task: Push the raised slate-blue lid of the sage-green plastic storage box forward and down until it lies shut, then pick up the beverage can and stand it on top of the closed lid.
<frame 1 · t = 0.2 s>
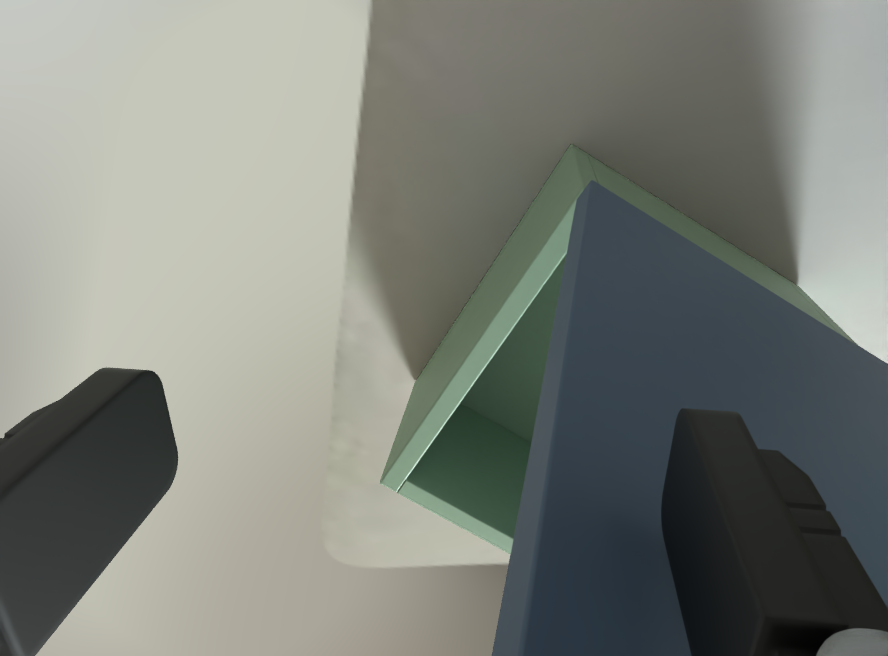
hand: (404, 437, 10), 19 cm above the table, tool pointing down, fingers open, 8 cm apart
storage box: (591, 338, 29), on the table
box lid: (789, 472, 13), point 15 cm above the table, hinge at 77.1°
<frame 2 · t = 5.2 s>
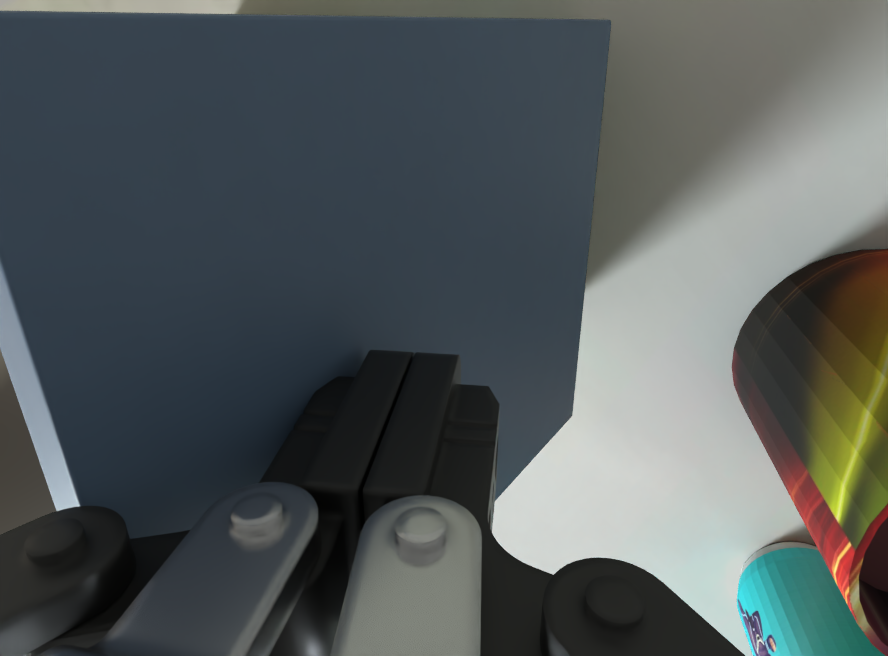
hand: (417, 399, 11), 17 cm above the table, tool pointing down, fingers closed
box lid: (431, 333, 13), point 15 cm above the table, hinge at 63.5°, touching gripper
beverage can: (785, 570, 33), on the table
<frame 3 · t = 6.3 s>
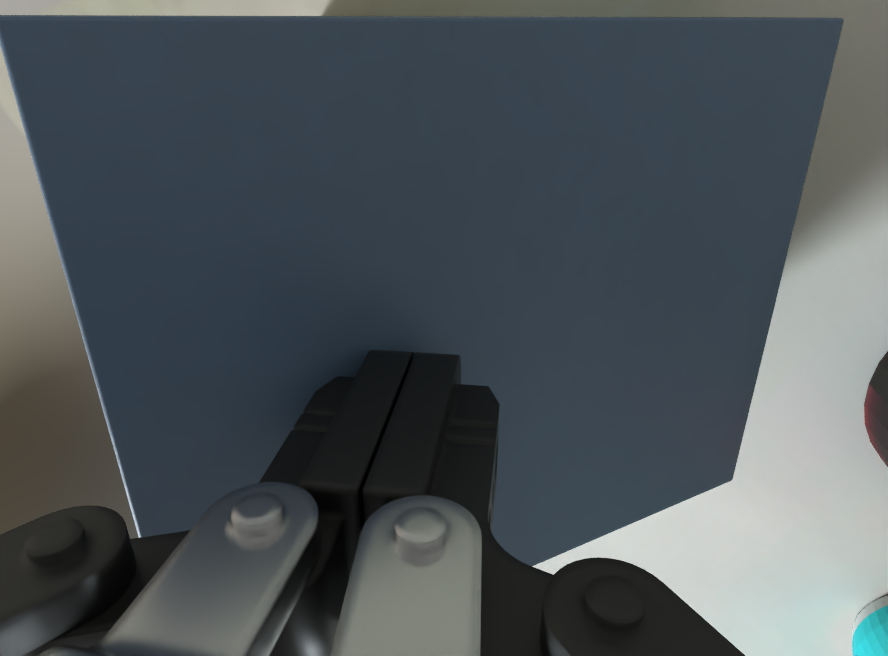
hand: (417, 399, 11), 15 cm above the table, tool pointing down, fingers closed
box lid: (518, 344, 12), point 12 cm above the table, hinge at 35.4°, touching gripper
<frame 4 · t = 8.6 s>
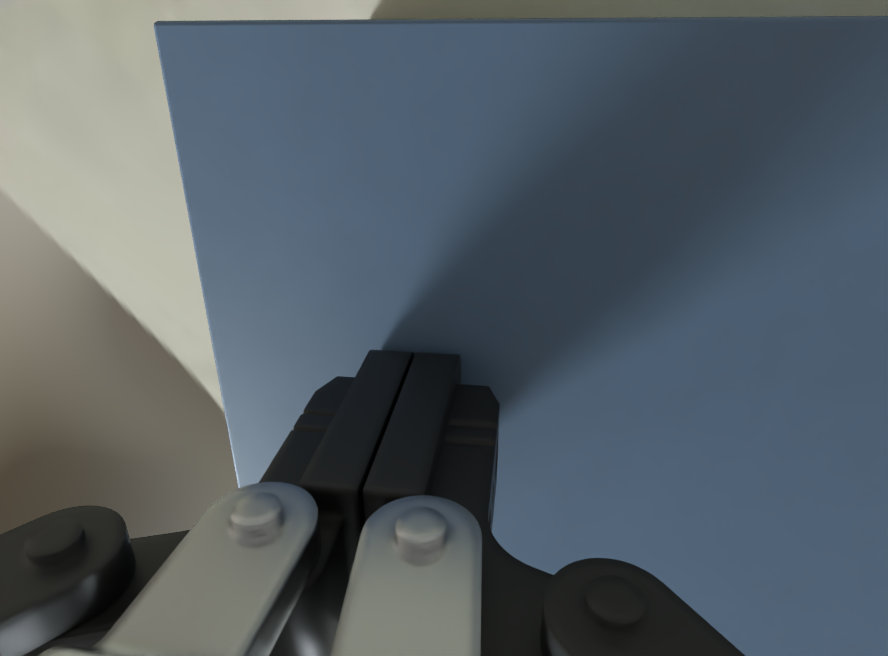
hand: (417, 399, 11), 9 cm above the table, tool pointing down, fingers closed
box lid: (631, 400, 11), point 8 cm above the table, hinge at 0.0°, touching gripper
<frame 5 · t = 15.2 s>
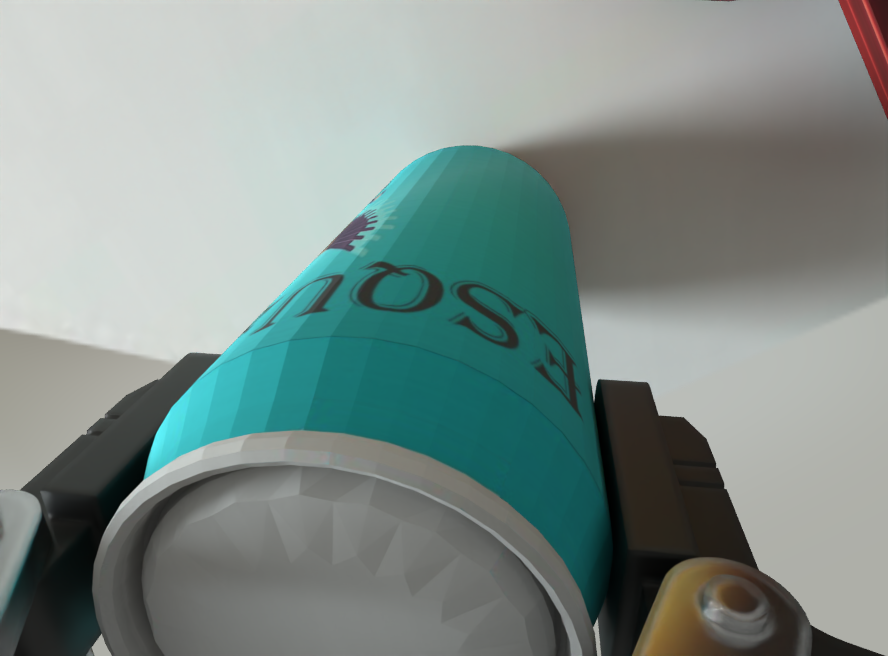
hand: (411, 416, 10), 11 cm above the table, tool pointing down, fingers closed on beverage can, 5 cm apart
beverage can: (475, 228, 20), on the table, touching gripper
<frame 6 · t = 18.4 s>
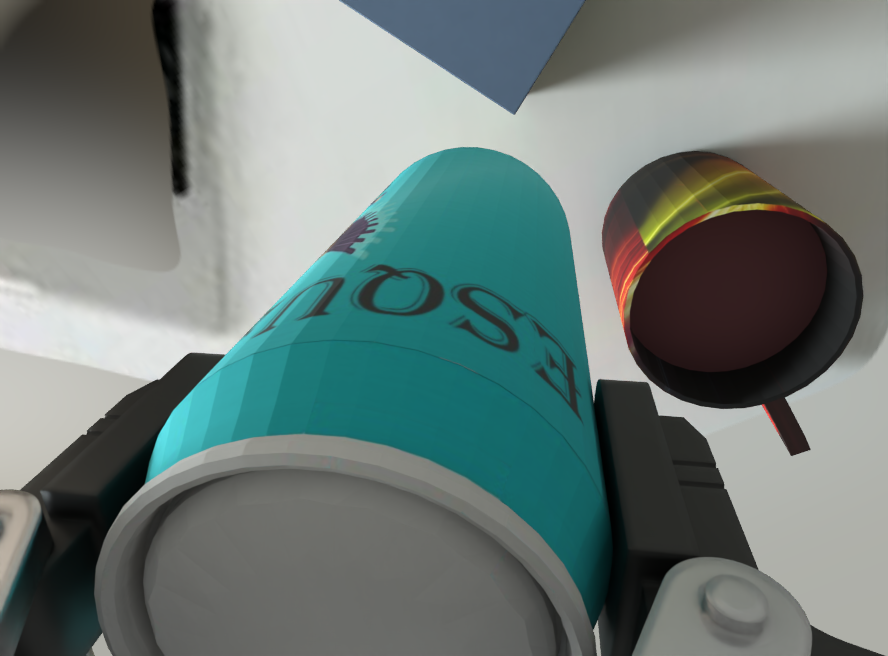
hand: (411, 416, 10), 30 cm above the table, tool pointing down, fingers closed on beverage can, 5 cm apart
mug: (710, 251, 38), on the table
beverage can: (475, 229, 20), point 19 cm above the table, touching gripper
when the fingers open (19 cm above the table, at t = 22.1 s): beverage can stays where it is, resting on box lid.
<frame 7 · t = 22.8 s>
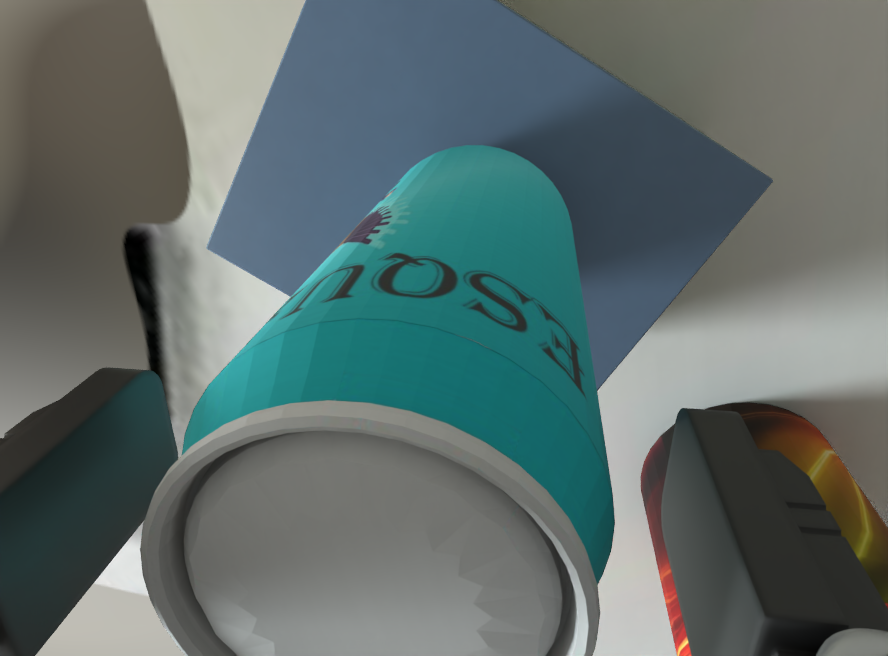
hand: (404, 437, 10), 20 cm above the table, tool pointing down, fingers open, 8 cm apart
box lid: (466, 214, 21), point 8 cm above the table, hinge at -0.2°, touching beverage can, storage box
mug: (765, 497, 34), on the table
beverage can: (480, 225, 21), point 8 cm above the table, touching box lid
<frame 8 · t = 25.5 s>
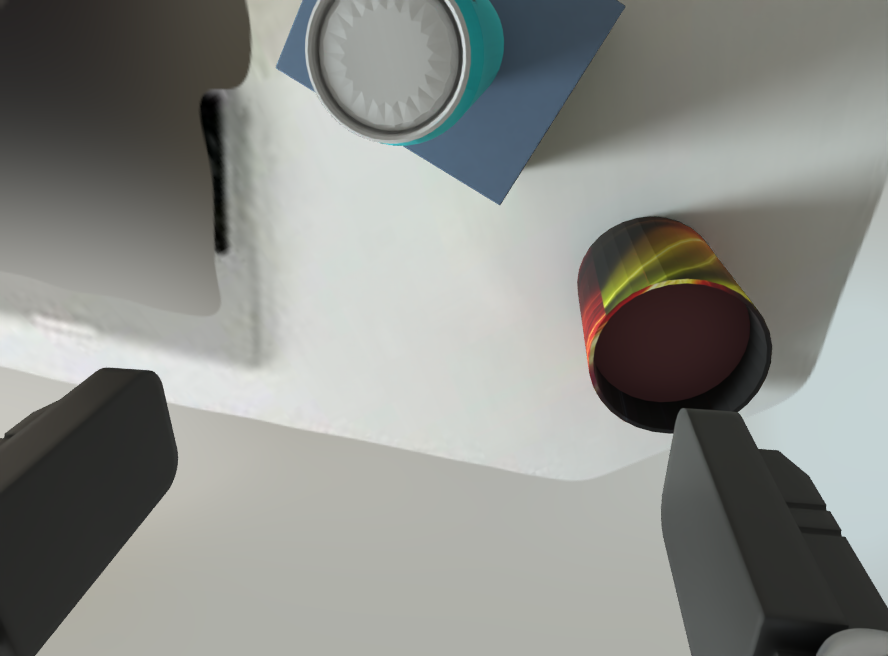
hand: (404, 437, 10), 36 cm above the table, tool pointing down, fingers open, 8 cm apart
box lid: (441, 38, 33), point 8 cm above the table, hinge at -0.2°, touching beverage can, storage box
mug: (668, 296, 46), on the table
beverage can: (450, 45, 33), point 8 cm above the table, touching box lid
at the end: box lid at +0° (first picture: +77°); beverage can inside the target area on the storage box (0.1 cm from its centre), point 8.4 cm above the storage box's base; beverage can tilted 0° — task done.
